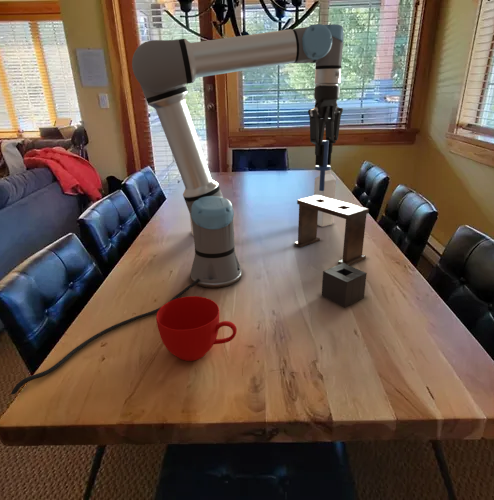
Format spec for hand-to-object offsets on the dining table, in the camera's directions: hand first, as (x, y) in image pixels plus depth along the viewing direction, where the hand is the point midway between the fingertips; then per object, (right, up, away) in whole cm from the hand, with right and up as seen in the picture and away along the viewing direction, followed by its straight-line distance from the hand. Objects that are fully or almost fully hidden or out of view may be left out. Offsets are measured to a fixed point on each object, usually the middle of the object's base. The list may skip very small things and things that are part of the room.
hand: (322, 164), depth 121 cm
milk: (+6, -17, +35) cm, 39 cm away
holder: (+2, -40, -19) cm, 45 cm away
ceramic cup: (-34, -50, -40) cm, 72 cm away
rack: (+3, -28, +8) cm, 30 cm away
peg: (0, -1, +1) cm, 2 cm away
